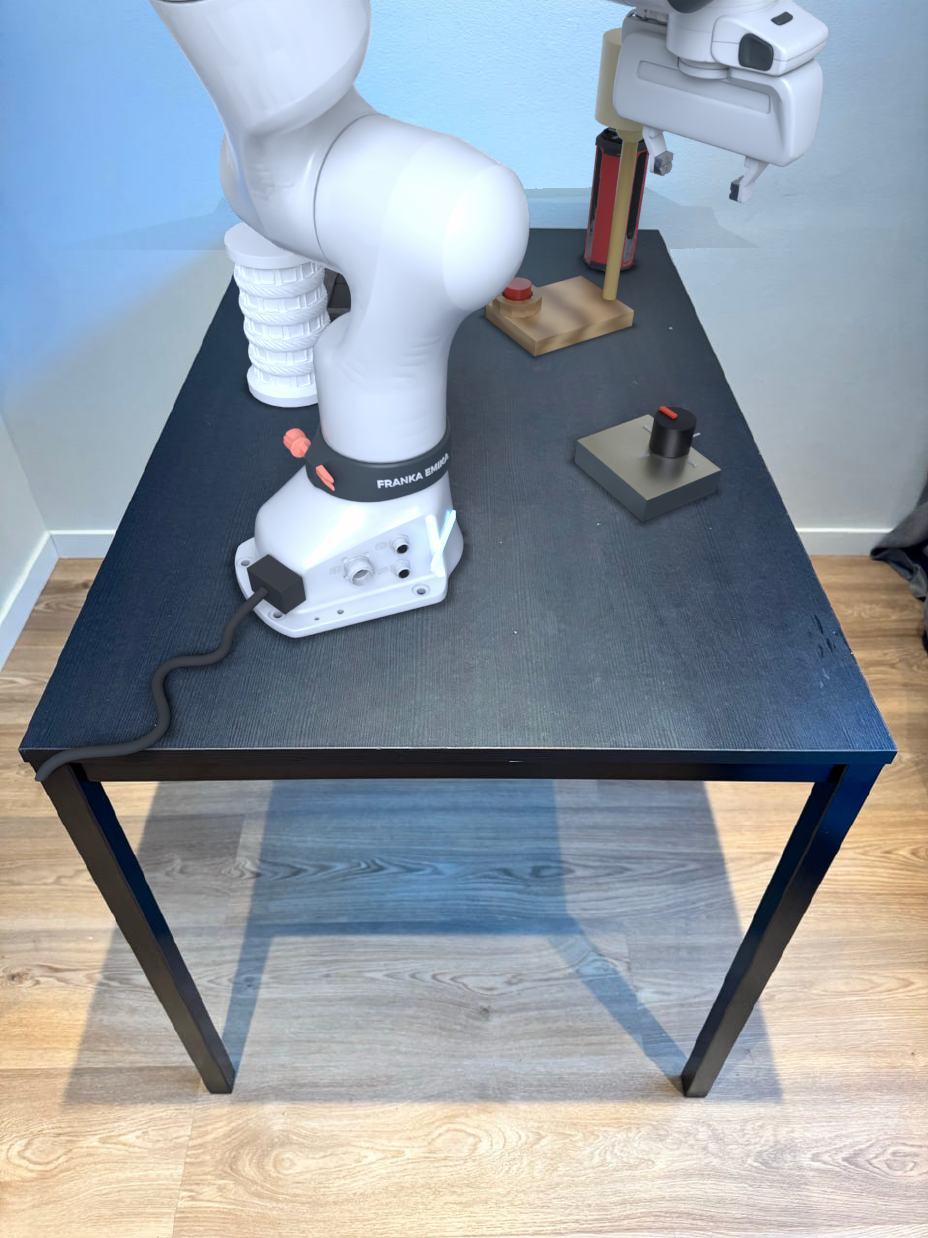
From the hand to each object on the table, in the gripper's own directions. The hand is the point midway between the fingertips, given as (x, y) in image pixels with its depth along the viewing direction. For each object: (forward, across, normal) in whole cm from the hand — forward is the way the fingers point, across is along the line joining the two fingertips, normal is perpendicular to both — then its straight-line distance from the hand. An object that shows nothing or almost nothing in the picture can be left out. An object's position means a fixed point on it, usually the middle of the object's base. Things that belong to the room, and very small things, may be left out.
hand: (699, 185), depth 85 cm
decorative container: (+23, -35, -30) cm, 51 cm away
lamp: (+23, -18, +10) cm, 31 cm away
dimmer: (+25, +7, -12) cm, 29 cm away
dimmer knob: (+22, +7, -10) cm, 25 cm away
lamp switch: (+23, -27, +2) cm, 35 cm away
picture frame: (+25, -46, -7) cm, 53 cm away
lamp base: (+27, -23, +5) cm, 36 cm away
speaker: (+29, -30, +24) cm, 48 cm away
